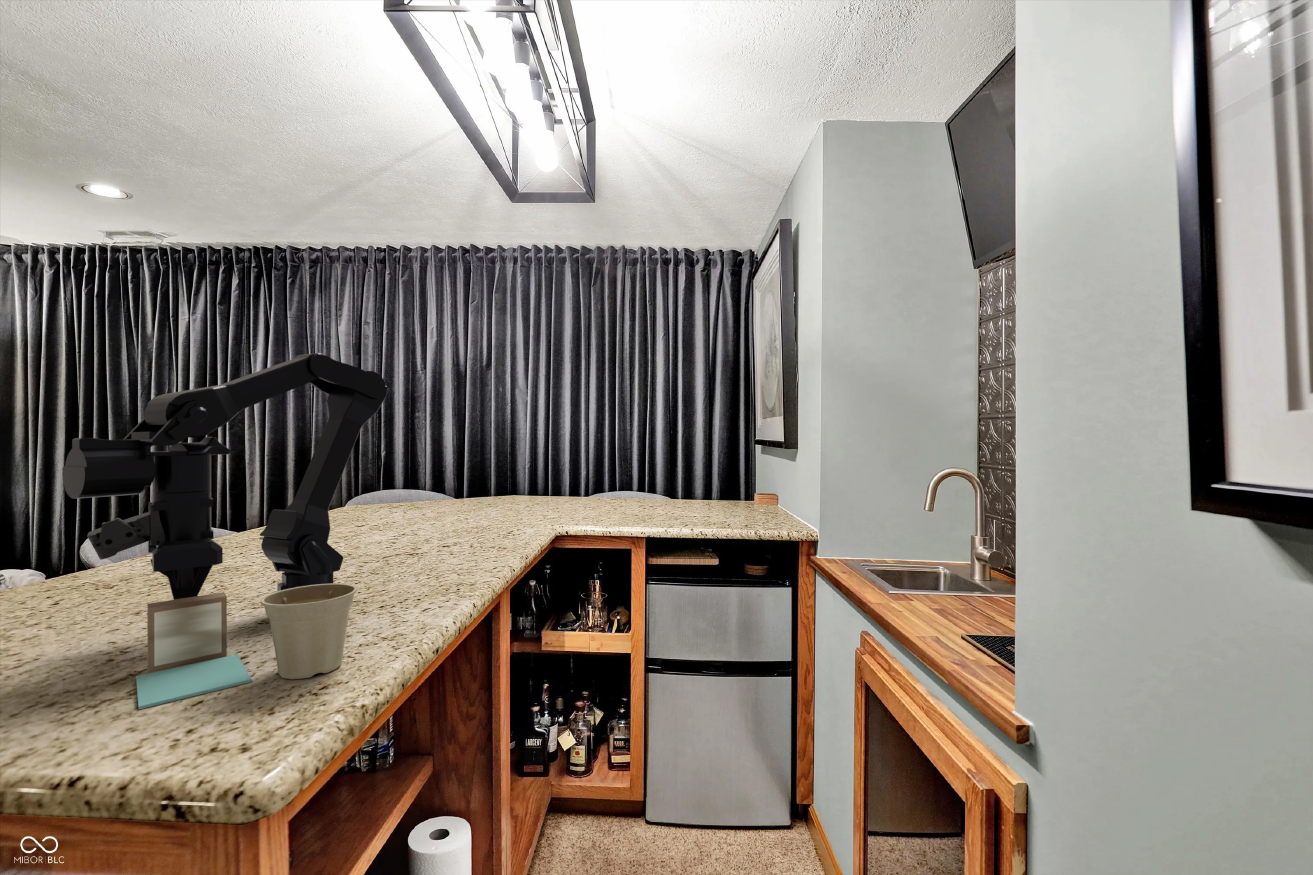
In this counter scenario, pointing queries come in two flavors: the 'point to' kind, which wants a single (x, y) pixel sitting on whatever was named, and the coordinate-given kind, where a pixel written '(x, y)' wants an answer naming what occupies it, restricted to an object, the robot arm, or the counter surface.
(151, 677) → the teal mat
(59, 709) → the counter surface
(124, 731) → the counter surface
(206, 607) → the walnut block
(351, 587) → the flower pot
